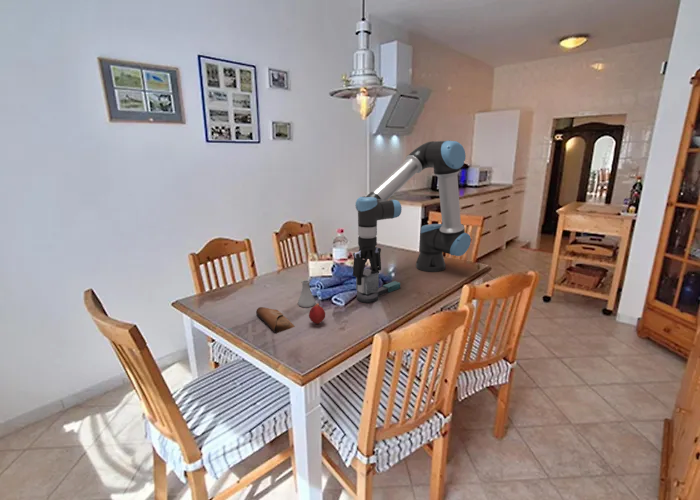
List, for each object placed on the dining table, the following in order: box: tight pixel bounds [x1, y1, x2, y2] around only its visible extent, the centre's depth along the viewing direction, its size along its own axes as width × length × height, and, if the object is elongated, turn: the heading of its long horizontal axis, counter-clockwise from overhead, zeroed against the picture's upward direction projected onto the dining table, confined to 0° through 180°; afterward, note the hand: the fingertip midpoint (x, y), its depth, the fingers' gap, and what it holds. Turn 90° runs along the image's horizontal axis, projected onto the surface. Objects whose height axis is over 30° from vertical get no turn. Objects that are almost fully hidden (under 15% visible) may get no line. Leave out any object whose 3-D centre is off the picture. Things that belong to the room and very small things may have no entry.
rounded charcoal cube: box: [355, 268, 380, 294], centre depth 149 cm, size 7×7×8 cm
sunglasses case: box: [255, 306, 295, 334], centre depth 133 cm, size 18×7×7 cm
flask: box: [297, 279, 317, 308], centre depth 146 cm, size 7×7×10 cm
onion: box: [308, 303, 326, 325], centre depth 129 cm, size 6×6×8 cm
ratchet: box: [356, 280, 401, 304], centre depth 155 cm, size 24×9×7 cm, turn 131°
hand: (367, 289), depth 150 cm, fingers closed on rounded charcoal cube, 7 cm apart
